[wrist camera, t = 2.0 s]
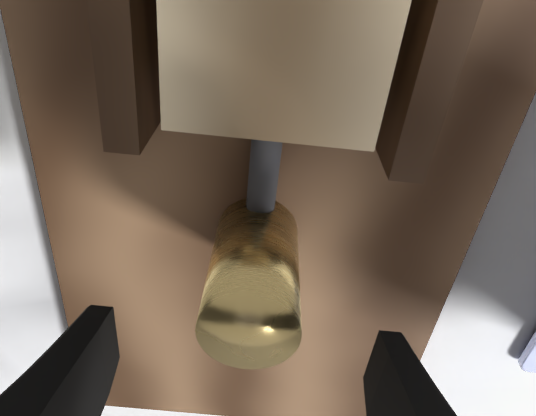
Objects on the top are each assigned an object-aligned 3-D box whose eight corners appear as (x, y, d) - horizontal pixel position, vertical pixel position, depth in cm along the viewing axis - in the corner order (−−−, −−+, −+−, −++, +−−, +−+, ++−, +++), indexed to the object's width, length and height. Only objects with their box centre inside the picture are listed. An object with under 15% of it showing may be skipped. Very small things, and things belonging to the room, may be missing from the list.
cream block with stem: (392, -99, 11) (457, -112, 7) (317, 267, 18) (327, 376, 13) (191, -122, 11) (134, -150, 7) (191, 255, 17) (161, 361, 13)
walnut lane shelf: (657, -254, 10) (809, -326, 7) (386, 412, 24) (400, 480, 21) (-49, -344, 10) (-192, -458, 7) (91, 386, 24) (64, 451, 21)
